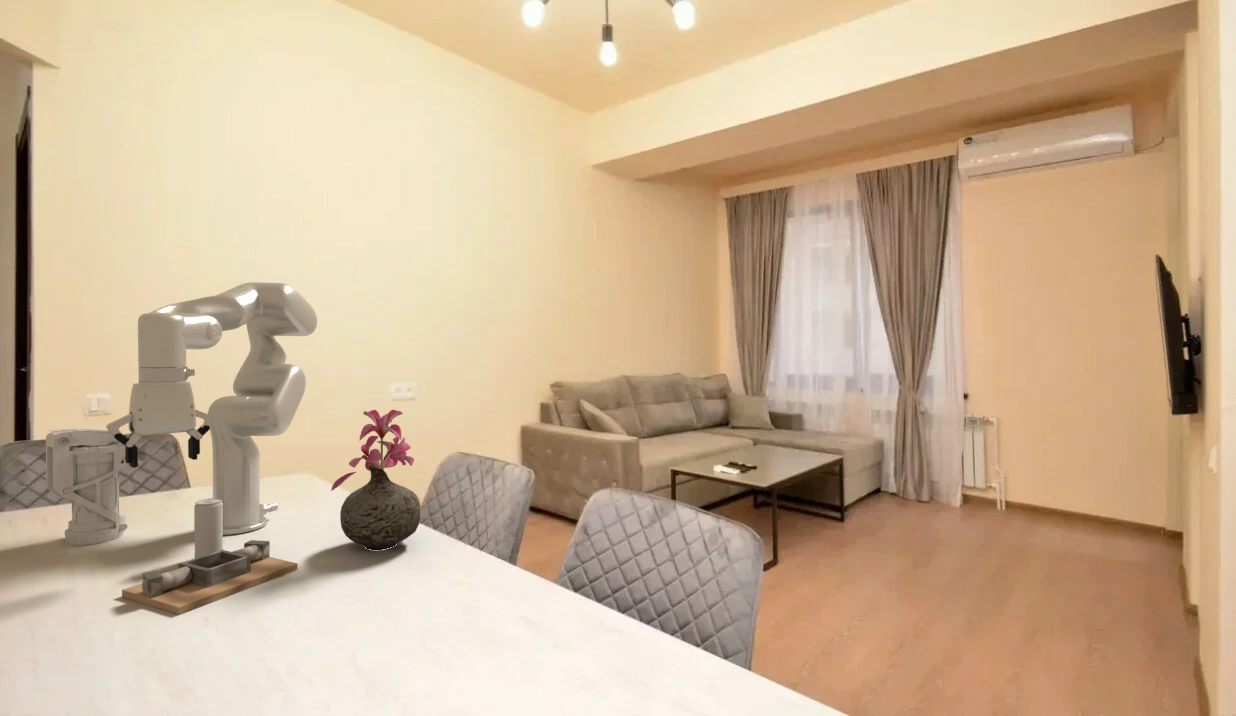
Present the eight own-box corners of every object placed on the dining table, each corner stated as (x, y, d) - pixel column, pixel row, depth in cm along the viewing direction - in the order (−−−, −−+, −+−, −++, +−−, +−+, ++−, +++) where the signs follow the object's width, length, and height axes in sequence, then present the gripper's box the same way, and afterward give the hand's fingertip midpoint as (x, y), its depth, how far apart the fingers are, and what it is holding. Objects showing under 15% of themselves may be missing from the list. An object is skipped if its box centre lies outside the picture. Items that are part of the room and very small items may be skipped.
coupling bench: (244, 556, 126) (244, 535, 125) (298, 569, 119) (298, 547, 119) (121, 596, 105) (121, 571, 105) (178, 614, 99) (178, 588, 99)
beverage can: (208, 564, 121) (208, 505, 121) (188, 562, 122) (188, 503, 122) (228, 556, 126) (228, 498, 125) (208, 553, 127) (209, 497, 126)
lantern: (114, 528, 142) (114, 422, 142) (134, 536, 137) (134, 426, 136) (41, 543, 131) (41, 428, 131) (59, 552, 126) (59, 433, 125)
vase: (434, 546, 134) (435, 412, 133) (355, 566, 121) (356, 418, 120) (397, 529, 145) (398, 405, 144) (322, 546, 132) (323, 410, 132)
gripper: (207, 373, 127) (208, 453, 128) (101, 376, 114) (102, 466, 114) (220, 375, 122) (220, 458, 123) (111, 379, 109) (112, 473, 110)
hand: (164, 462), depth 119 cm, fingers open, 9 cm apart
